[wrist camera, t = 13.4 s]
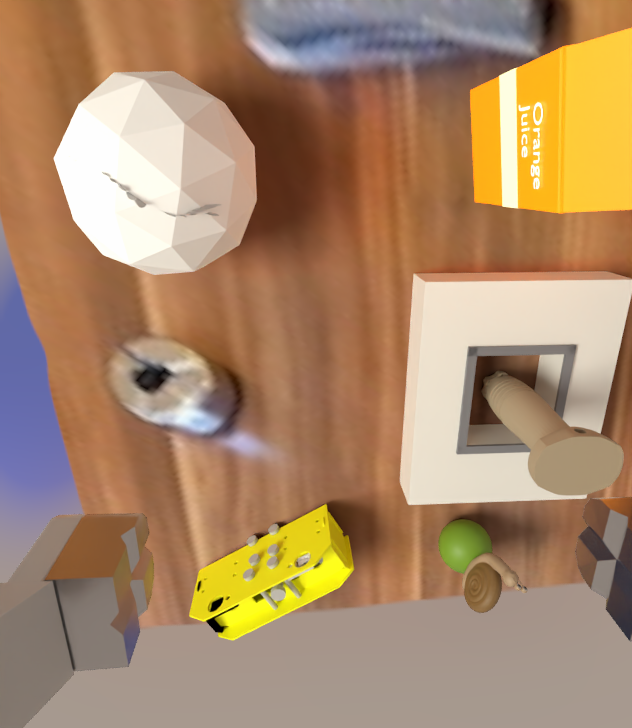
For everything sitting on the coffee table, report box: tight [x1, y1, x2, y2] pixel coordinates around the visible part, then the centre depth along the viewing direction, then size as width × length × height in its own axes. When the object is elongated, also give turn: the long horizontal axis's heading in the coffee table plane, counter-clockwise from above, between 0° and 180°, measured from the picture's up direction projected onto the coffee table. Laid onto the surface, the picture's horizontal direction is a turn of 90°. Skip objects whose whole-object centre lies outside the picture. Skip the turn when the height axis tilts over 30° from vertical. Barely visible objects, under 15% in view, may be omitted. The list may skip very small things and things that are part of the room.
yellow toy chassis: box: [189, 504, 354, 640], centre depth 51 cm, size 16×6×8 cm, turn 120°
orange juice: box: [470, 28, 632, 213], centre depth 32 cm, size 8×9×20 cm
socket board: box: [400, 271, 632, 505], centre depth 48 cm, size 22×18×4 cm
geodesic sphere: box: [54, 71, 257, 275], centre depth 35 cm, size 14×14×14 cm
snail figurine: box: [439, 519, 527, 613], centre depth 50 cm, size 5×6×12 cm
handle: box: [481, 371, 624, 495], centre depth 43 cm, size 5×6×15 cm
